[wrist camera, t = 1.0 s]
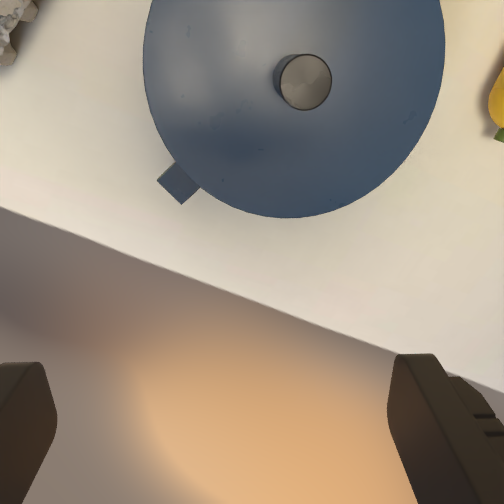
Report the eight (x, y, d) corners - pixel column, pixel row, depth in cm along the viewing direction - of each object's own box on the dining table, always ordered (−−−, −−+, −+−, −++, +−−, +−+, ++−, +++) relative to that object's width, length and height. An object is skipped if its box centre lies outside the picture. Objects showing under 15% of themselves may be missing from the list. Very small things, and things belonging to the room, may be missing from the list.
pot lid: (85, 65, 26) (37, 69, 20) (315, -202, 21) (343, -304, 15) (276, 259, 32) (284, 307, 26) (491, 87, 27) (562, 96, 21)
